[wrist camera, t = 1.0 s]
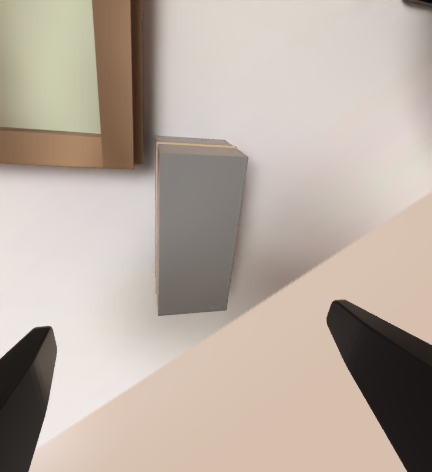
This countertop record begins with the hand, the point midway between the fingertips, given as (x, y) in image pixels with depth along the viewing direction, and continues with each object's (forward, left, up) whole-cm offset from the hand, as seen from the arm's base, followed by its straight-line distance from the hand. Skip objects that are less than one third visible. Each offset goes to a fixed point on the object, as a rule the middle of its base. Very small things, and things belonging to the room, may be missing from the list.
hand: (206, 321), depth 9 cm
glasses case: (-1, +1, -12) cm, 13 cm away
